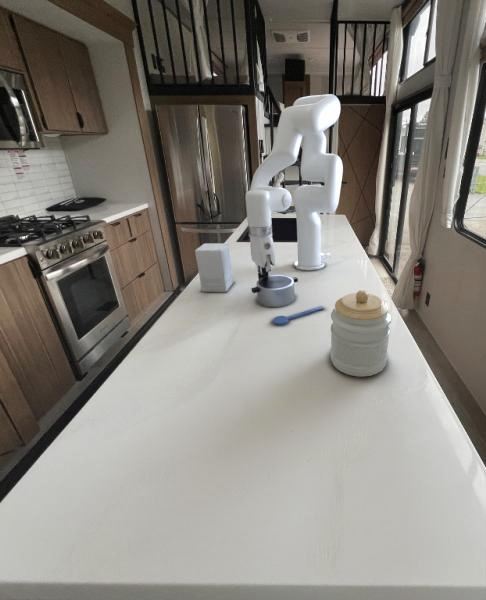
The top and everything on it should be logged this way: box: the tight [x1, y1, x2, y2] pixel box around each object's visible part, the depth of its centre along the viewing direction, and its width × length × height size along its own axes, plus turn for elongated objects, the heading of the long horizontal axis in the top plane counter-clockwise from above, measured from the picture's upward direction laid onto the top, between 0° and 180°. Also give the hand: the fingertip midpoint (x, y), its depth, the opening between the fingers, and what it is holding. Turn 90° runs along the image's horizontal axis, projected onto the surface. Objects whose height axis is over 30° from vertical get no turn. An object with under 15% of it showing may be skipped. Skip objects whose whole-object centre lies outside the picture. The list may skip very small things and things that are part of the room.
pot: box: [250, 274, 299, 308], centre depth 105 cm, size 16×12×6 cm
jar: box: [329, 289, 393, 377], centre depth 71 cm, size 13×13×18 cm
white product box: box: [194, 242, 234, 293], centre depth 113 cm, size 9×9×15 cm
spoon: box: [273, 306, 324, 326], centre depth 95 cm, size 16×4×1 cm, turn 122°
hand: (264, 283), depth 111 cm, fingers closed
